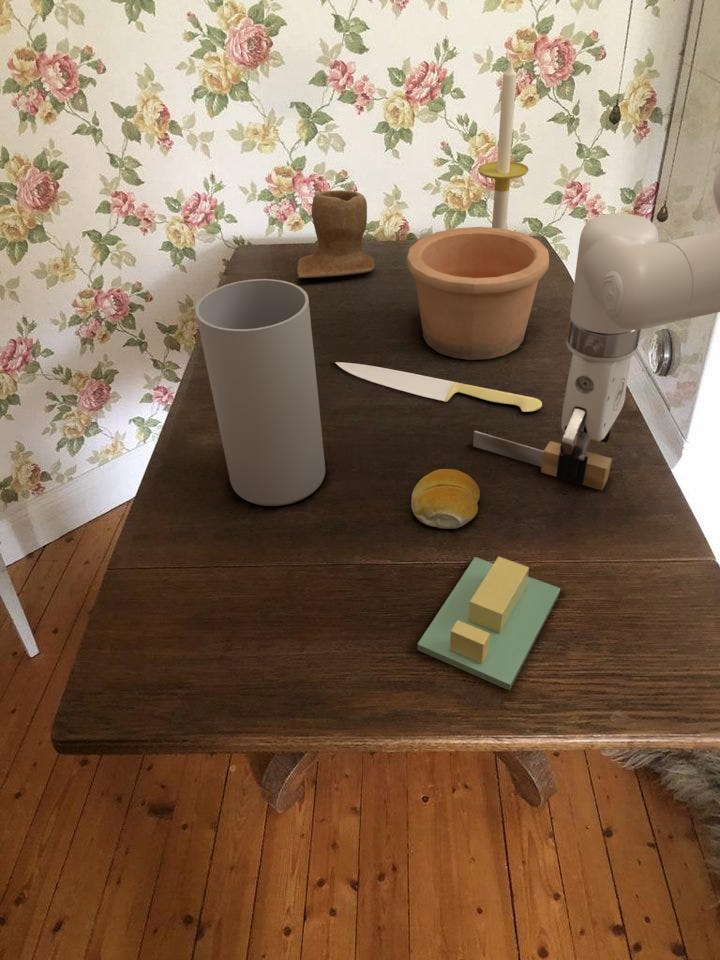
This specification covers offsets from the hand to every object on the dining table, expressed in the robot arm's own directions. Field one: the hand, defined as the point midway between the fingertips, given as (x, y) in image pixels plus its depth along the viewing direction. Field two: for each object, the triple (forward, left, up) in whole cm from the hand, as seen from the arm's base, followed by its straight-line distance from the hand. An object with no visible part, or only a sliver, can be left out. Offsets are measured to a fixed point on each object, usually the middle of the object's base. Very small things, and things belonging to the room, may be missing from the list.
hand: (583, 459), depth 93 cm
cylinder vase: (+35, +17, -4) cm, 39 cm away
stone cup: (+63, -41, -4) cm, 75 cm away
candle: (+33, -50, -4) cm, 60 cm away
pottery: (+28, -29, -4) cm, 41 cm away
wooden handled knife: (+6, -1, -4) cm, 7 cm away
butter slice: (+1, +31, -3) cm, 31 cm away
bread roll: (+13, +12, -4) cm, 18 cm away
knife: (+27, -11, -4) cm, 29 cm away
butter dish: (+1, +26, -4) cm, 26 cm away
